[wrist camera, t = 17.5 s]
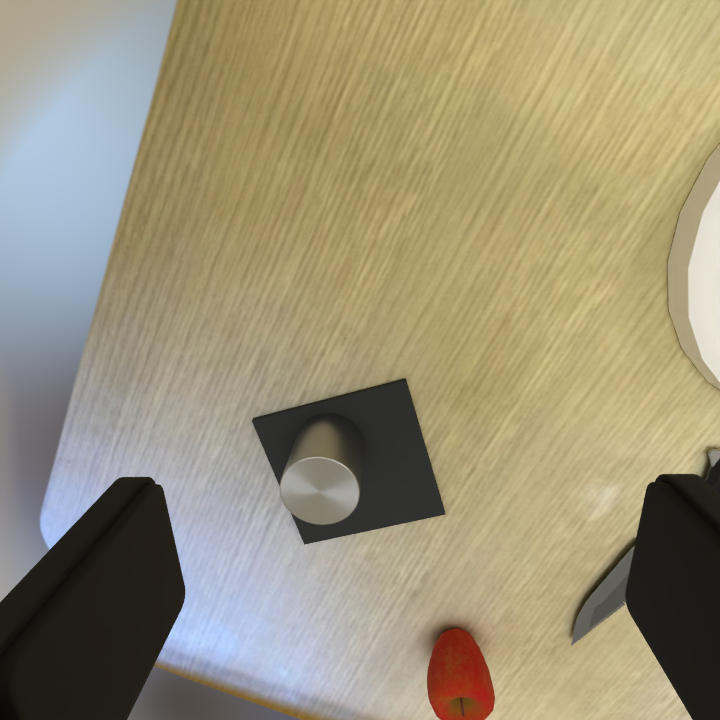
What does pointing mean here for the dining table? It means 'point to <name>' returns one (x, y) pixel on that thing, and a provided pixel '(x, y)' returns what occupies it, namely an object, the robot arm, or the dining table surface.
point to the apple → (459, 678)
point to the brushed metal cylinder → (324, 470)
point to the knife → (623, 576)
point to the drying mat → (366, 458)
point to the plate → (698, 273)
